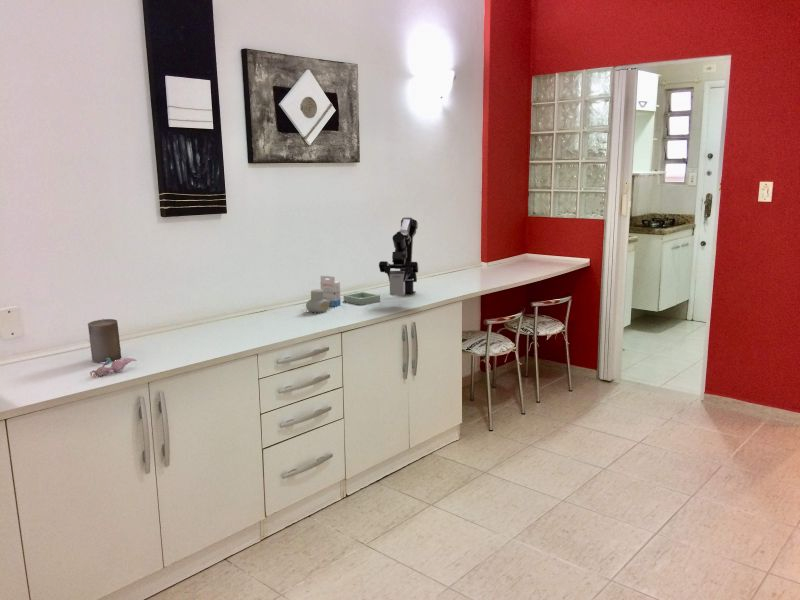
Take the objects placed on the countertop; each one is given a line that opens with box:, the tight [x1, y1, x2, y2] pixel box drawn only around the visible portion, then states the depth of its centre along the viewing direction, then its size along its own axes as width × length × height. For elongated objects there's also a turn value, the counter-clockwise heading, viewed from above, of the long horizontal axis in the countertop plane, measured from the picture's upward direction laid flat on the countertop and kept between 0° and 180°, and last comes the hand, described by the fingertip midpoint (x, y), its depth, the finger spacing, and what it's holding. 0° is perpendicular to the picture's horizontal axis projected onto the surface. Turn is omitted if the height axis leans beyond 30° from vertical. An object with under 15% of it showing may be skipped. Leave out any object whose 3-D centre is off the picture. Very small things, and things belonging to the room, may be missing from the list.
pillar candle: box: [87, 318, 122, 363], centre depth 235 cm, size 10×10×15 cm
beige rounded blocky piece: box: [305, 289, 330, 313], centre depth 310 cm, size 11×8×10 cm
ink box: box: [319, 275, 342, 307], centre depth 323 cm, size 8×5×15 cm, turn 62°
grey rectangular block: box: [389, 270, 405, 296], centre depth 319 cm, size 6×7×11 cm
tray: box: [342, 291, 381, 306], centre depth 333 cm, size 13×13×3 cm
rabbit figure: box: [89, 357, 137, 378], centre depth 221 cm, size 6×6×15 cm
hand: (396, 281), depth 317 cm, fingers closed on grey rectangular block, 7 cm apart
